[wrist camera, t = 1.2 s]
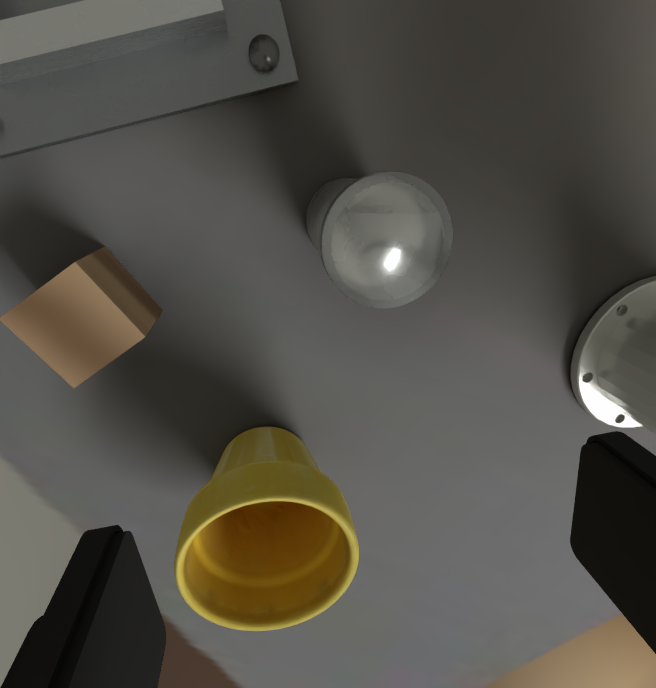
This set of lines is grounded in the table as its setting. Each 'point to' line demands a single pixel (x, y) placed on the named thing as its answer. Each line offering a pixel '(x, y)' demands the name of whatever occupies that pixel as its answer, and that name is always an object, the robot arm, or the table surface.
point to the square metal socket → (130, 63)
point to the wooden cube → (84, 316)
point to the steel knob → (381, 236)
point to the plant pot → (265, 537)
